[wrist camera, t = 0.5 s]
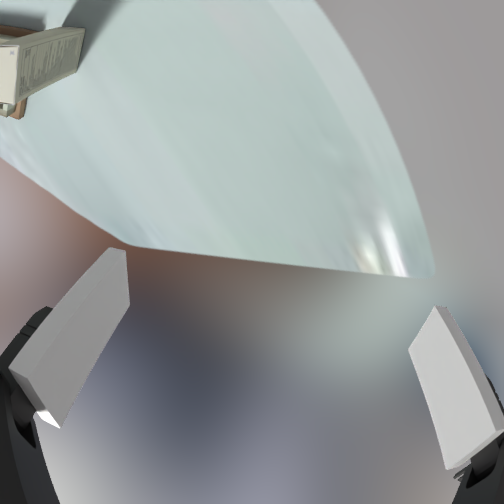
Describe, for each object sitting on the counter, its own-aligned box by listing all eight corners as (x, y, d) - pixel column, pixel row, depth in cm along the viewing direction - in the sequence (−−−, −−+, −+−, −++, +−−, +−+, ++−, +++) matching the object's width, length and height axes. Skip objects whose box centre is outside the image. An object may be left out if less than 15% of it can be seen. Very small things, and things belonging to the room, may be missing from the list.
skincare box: (60, 26, 21) (-9, 43, 13) (88, 28, 22) (19, 42, 14) (51, 71, 26) (-14, 102, 17) (77, 74, 26) (13, 106, 18)
